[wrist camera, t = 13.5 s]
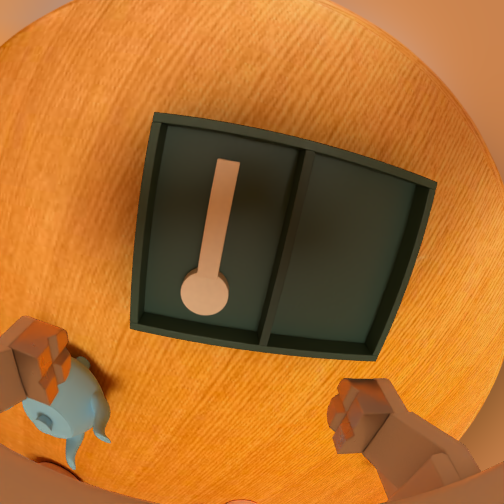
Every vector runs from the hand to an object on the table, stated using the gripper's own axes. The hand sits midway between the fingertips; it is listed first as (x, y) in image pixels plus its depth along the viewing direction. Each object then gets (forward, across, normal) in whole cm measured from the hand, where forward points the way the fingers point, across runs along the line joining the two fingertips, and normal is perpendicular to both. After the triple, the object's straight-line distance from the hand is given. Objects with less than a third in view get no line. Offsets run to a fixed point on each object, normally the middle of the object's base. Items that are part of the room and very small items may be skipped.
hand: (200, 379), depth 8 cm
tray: (+21, -5, +2) cm, 22 cm away
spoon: (+20, +1, +2) cm, 20 cm away
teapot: (+21, +16, +24) cm, 35 cm away
